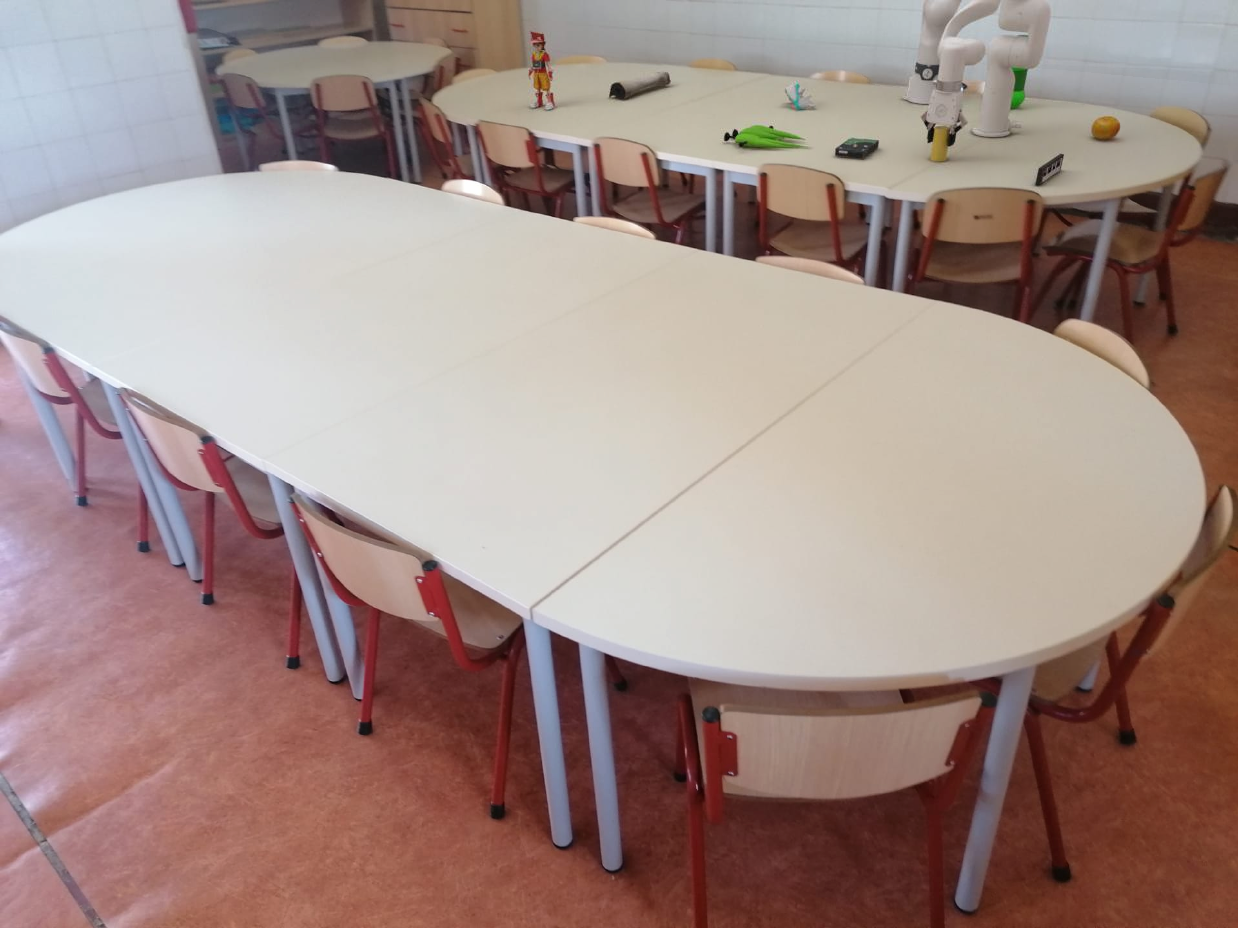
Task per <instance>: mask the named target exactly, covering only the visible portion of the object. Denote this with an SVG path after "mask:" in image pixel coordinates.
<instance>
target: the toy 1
mask: <svg viewBox="0 0 1238 928" xmlns="http://www.w3.org/2000/svg"><path fill="white" fill-rule="evenodd" d="M529 33H530V35H531V36H528V37H527V38H528V39H529V40H528V41H527V43H529V44H530V43H531V44H532V48H533V50H534V51H533V52H532V55H531V58H530V59H531V63H530V66H528V74H527V75H528V76H527V77H528V79H529V80H531V75H532V74H533V84H532V85H533V86H532V87H533V88H534V89H535V90H536V92H534V95H535V97H536V100H535V101H533V102H531V105H530V108H531V109H535V108H538V107H542V106H544V101H543V100H544V99H543V95H544V92H546V94H545V97H546V99H547V103H546V104H545V106H544V110H546V111H549V110H553V109H554V107H555V106H556V105H555V99H554V92H551V91H550V90H551V86H552V84H551V82H552V81H553V80H554V77H553V73H554V71H555V70H554V69H552V68H551V63H550V61H551V59H550V58H551V57H550V54H549V53H548V52H547V50H546V48H545V46H546V44H547V41H545V35H544V33H543V32H542V33H539V32H535V31H529Z"/></svg>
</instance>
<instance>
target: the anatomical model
mask: <svg viewBox="0 0 1238 928" xmlns="http://www.w3.org/2000/svg"><path fill="white" fill-rule="evenodd" d="M800 87H801V86H800V83H798V82H797V81H796V80H794V81H792V83H791V84H790V85H788V86H785V87H784V92H785V94H786V97H788V100H789V101H790V102H791V103H793V104H794V106H795V108H796V109H797V110H799V111H800V110H804V109H808V108H810V109H814V108H815V107H816V104H815V103H811V102H810V99H811V98H812V94H807V95H805V96H804V95H803V94H804V93H805V91H806V88H802V89H801V90H799V89H800Z"/></svg>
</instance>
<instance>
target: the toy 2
mask: <svg viewBox="0 0 1238 928" xmlns="http://www.w3.org/2000/svg"><path fill="white" fill-rule="evenodd" d="M730 139H734V142H735V143H736V144H737V145H738V147H739V148H743V147H752V148H753V147H758V148H762V147H763V148H807V146H806V145H800V144H796V143H790V142H786V141H782V140H783V139H791V140H804V141H806V138H804V137H801V136H798V135H796V134H792V133H789V132H787V131H782V130H778V129H775V128H774V126H773V125H769V126H768V127H767V126H765V125H762V124H761V125H760V124H757V125H752V126H748V127H745V128H743V129H741V131H738V129H737V128H734V129H733V130H732V133H731V134H730V133H729V132H728V131H726V132H725V133H724V136H723V141H724V142H728V141H730Z"/></svg>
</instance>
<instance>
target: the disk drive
mask: <svg viewBox="0 0 1238 928" xmlns="http://www.w3.org/2000/svg"><path fill="white" fill-rule="evenodd" d="M879 145H880V140H879V139H870V138H869V139H868V138H855V137H850V138H848V139H846V140H845V141H844V142H843V143H841V144H840V145H838V146H837V147H835V151H834V156H836V157H842V158H849V159H865V158H867V157H868V156H870V155H871V154H872V153H873V152H875V151H876V150H877V149H878V148H879Z"/></svg>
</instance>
